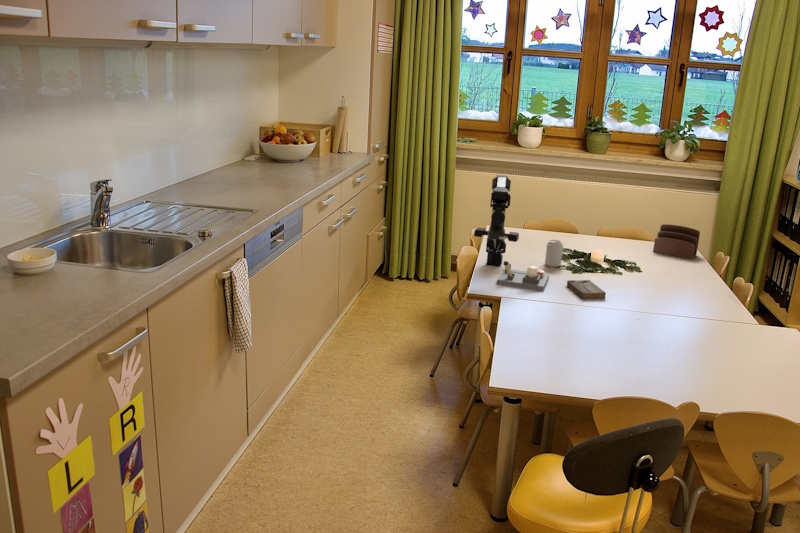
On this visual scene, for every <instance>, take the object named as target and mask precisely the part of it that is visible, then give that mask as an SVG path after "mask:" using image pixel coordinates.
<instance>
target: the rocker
mask: <svg viewBox="0 0 800 533" xmlns="http://www.w3.org/2000/svg"><path fill="white" fill-rule="evenodd" d="M543 274H545V270H543V269H540V268H538V273H537V275H541V277H542V276H543Z"/></svg>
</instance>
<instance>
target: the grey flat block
mask: <svg viewBox="0 0 800 533" xmlns="http://www.w3.org/2000/svg"><path fill="white" fill-rule="evenodd" d="M566 287H567V288H568V289H570V291H572V292H573V293H574V294H575V295H577V296H578V297H579V298H580V299H582V300H605V299H606V292H605V291H604V290H603V289H602V288H600V287H599V286H597V285H596V284H595V283H594V282H592V281H591V280H590V279H579V280H577V279H575V280H574V279H573V280H567V282H566Z"/></svg>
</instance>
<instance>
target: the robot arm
mask: <svg viewBox="0 0 800 533" xmlns="http://www.w3.org/2000/svg"><path fill="white" fill-rule="evenodd" d="M508 177H509V176H508V175H504V174H497V175H496V176H495V177H494V178H492V179H491V180H492V181H491V182H492V183H491V195H490V196H491V197H490V203H489V205H490V206H489V207H490V208H492V209H491V216H490V217H491V218H490V219H491V220H490V225H489V228H488V230H487V229H486V228H484V227H477V228H476V229H475V230H474V232H473V236H474V237H476V238H482V237H483V236H487V238H486V247H485V252H486V253H487V256H486V258H487V259H486V263H485V265H486V266H492V267H501V266H502V264H503V259H504V254H505V253H506V251H507V250H506V249H507V243H506V239H507V240H508V241H509V242H513V243H517V242H518V241H519V239H520V234H519V232H514V231H509V233H507V232H506V229H505V220H506V211H507V210H506V209H509V207H510V206H511V197H512V196H511V194H510V193H509V192H511V185H512V184H511V183H512V180H511V179H509V178H508Z"/></svg>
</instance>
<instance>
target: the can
mask: <svg viewBox="0 0 800 533" xmlns="http://www.w3.org/2000/svg"><path fill="white" fill-rule="evenodd" d="M563 250H564V244H563V241H561V240H559V239H549V240H548V242H547V243H546V250H545V260H544V263H545V265H546V266H547V267H550V268H558V267H560V266H561V265H562V258H563Z"/></svg>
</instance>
